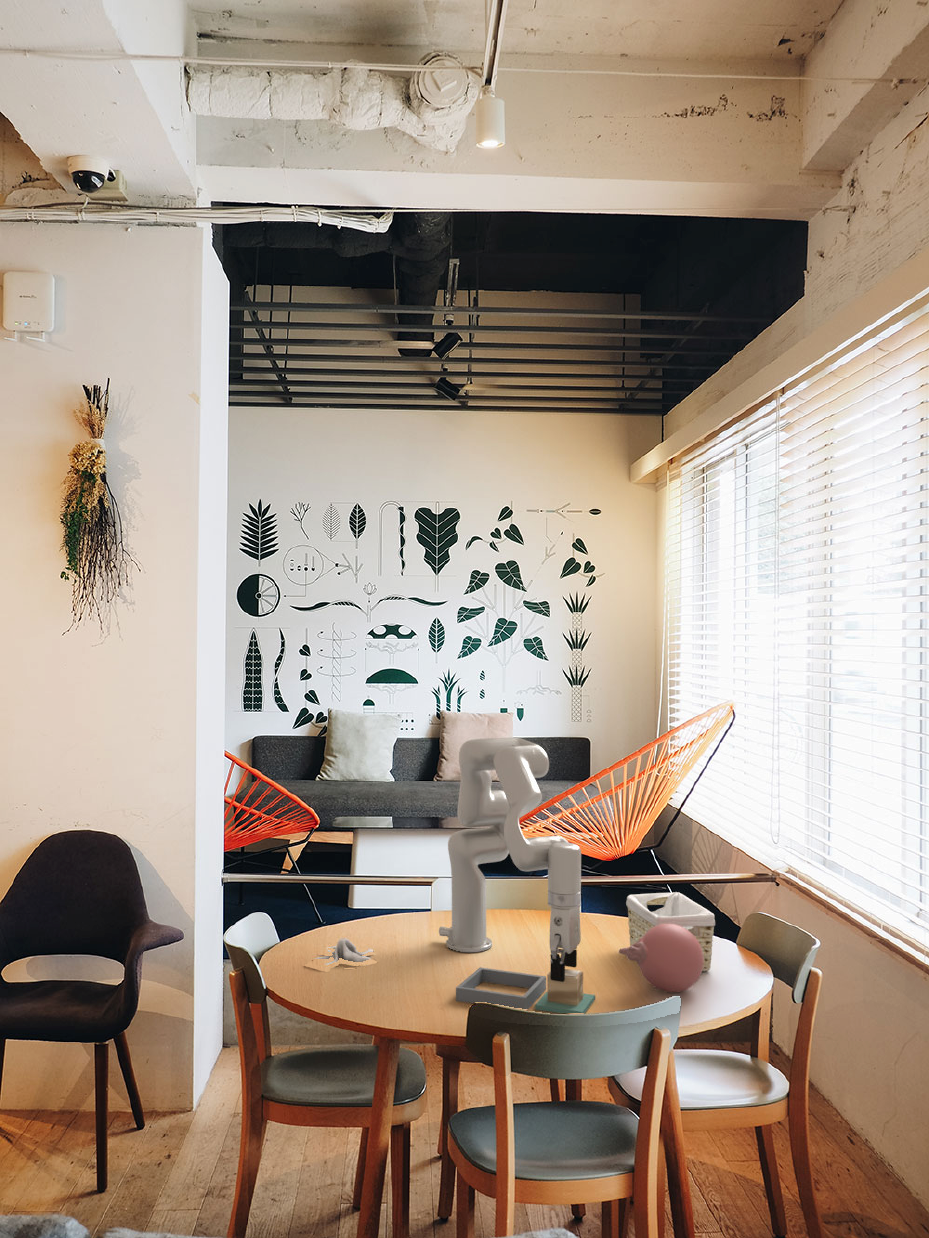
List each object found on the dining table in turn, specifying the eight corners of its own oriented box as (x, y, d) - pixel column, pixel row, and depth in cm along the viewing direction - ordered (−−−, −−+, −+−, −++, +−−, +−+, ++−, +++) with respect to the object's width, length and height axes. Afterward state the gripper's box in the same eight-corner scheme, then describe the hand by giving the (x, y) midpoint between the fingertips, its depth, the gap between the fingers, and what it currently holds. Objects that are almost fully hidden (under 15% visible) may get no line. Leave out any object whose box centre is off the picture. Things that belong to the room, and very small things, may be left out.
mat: (535, 1009, 206) (535, 1004, 206) (549, 992, 216) (549, 988, 216) (582, 1016, 202) (582, 1011, 202) (595, 999, 212) (595, 994, 212)
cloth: (298, 974, 231) (298, 950, 231) (311, 951, 249) (311, 928, 249) (386, 974, 230) (386, 950, 231) (393, 951, 249) (393, 928, 249)
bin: (456, 1000, 211) (455, 987, 211) (479, 979, 225) (479, 967, 225) (525, 1011, 205) (525, 997, 205) (546, 989, 218) (546, 976, 219)
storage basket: (624, 947, 250) (624, 892, 251) (681, 944, 252) (680, 890, 253) (656, 977, 226) (655, 917, 227) (718, 974, 229) (717, 914, 230)
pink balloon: (613, 979, 225) (612, 915, 226) (694, 978, 225) (693, 915, 226) (624, 1002, 210) (624, 934, 210) (711, 1002, 210) (710, 934, 211)
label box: (577, 1005, 205) (577, 977, 206) (547, 1001, 208) (547, 973, 208) (583, 997, 210) (583, 970, 210) (553, 993, 213) (553, 966, 213)
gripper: (569, 910, 201) (569, 989, 200) (590, 890, 217) (589, 963, 216) (537, 906, 204) (536, 983, 203) (559, 887, 219) (558, 958, 219)
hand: (563, 973), depth 210 cm, fingers open, 9 cm apart
